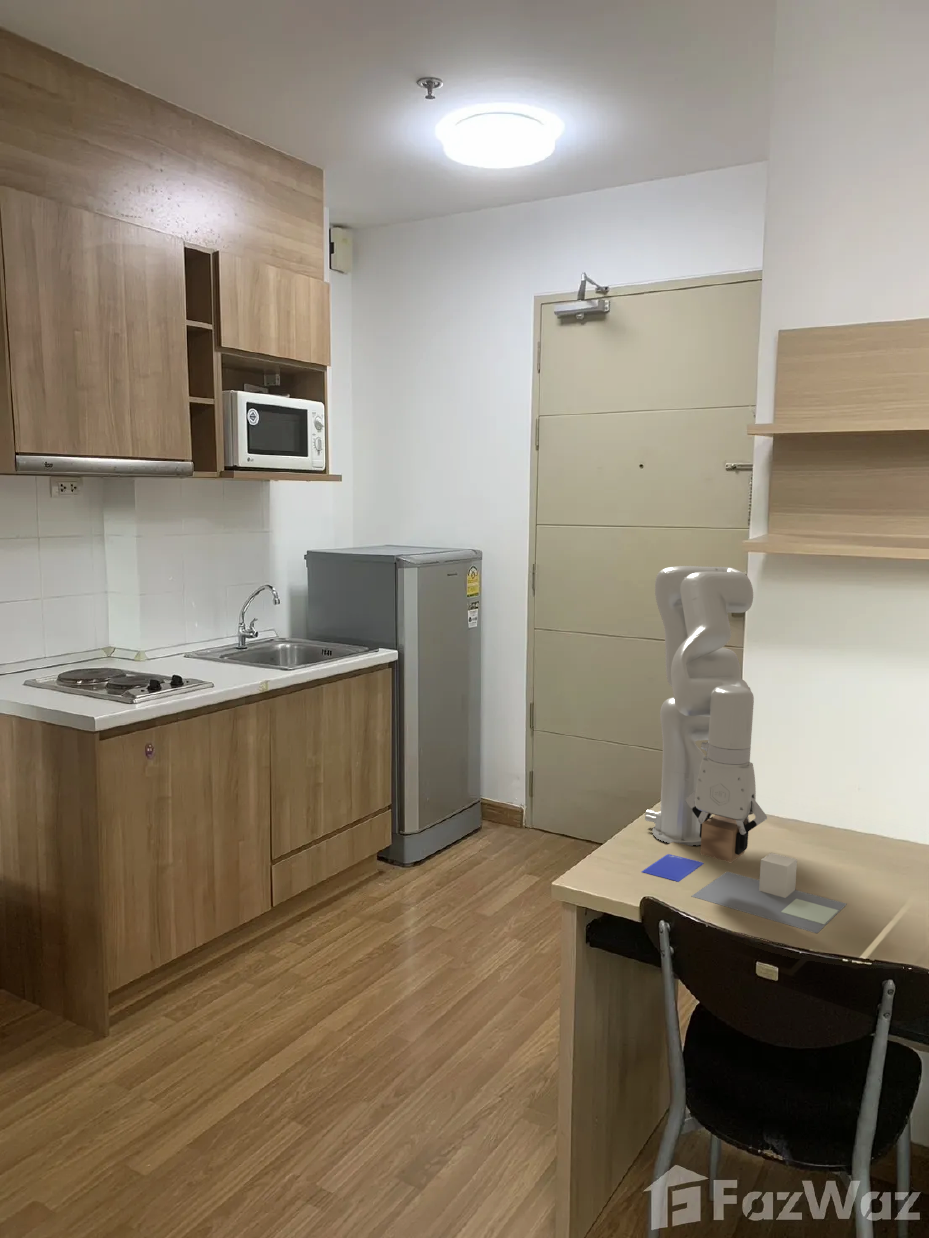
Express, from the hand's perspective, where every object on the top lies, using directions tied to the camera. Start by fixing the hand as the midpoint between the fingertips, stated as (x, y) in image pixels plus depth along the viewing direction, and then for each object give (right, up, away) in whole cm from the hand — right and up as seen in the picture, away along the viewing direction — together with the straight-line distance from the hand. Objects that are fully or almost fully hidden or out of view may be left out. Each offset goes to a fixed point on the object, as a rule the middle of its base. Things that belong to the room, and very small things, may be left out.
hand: (722, 846), depth 171 cm
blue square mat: (-6, -9, +13) cm, 17 cm away
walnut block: (0, -1, 0) cm, 1 cm away
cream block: (+11, -9, +3) cm, 14 cm away
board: (+8, -10, -2) cm, 13 cm away
